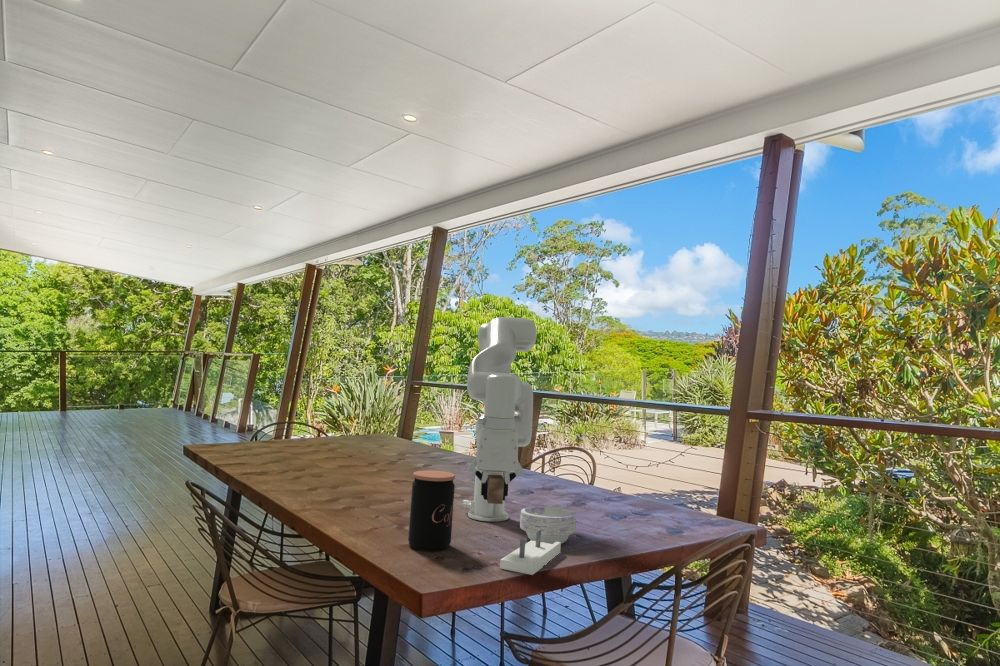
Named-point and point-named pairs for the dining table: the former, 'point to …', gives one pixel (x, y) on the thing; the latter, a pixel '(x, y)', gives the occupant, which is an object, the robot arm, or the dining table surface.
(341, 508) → the dining table surface
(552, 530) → the paper bowls
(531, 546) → the white slotted base
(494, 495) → the wooden block
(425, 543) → the coffee jar
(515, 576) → the dining table surface
